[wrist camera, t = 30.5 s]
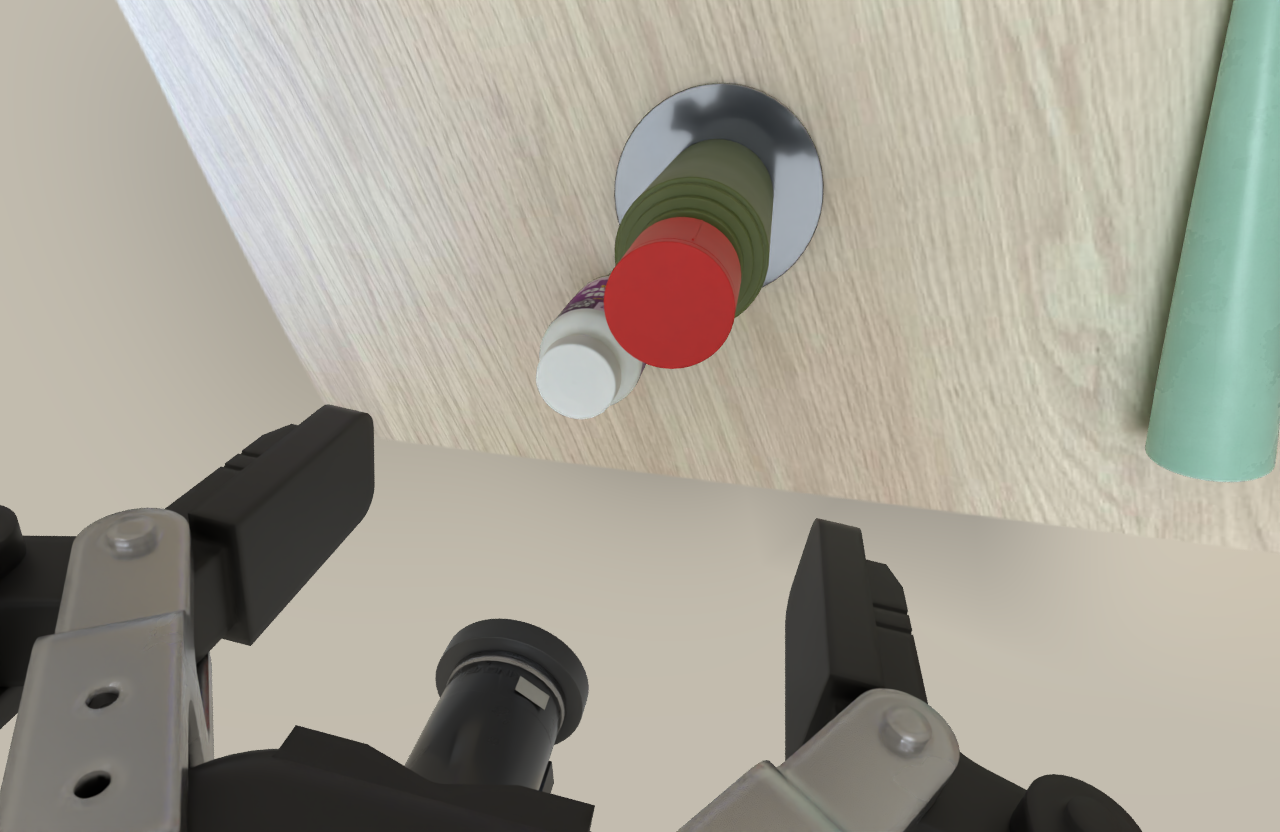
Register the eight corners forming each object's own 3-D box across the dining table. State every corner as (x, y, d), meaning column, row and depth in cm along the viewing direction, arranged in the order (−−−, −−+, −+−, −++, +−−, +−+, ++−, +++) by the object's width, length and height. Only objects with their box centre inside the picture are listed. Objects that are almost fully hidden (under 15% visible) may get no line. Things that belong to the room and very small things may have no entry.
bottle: (785, 237, 39) (786, 363, 24) (678, 268, 41) (615, 403, 26) (756, 122, 37) (737, 180, 22) (645, 160, 39) (553, 238, 23)
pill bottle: (661, 273, 42) (629, 331, 34) (663, 360, 44) (634, 435, 36) (569, 271, 43) (515, 328, 34) (575, 357, 45) (527, 429, 37)
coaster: (813, 298, 41) (813, 301, 41) (619, 291, 43) (617, 294, 42) (833, 81, 36) (834, 82, 36) (613, 83, 38) (610, 84, 37)
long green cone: (1472, -223, 24) (1300, 480, 35) (1358, -178, 29) (1238, 427, 40) (1280, -181, 25) (1172, 485, 37) (1201, -145, 30) (1126, 434, 42)
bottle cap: (645, 197, 25) (625, 219, 22) (760, 239, 25) (756, 267, 22) (611, 308, 27) (588, 343, 24) (717, 346, 27) (708, 386, 24)
